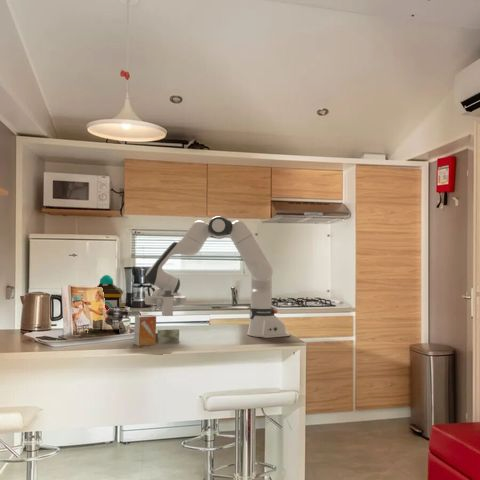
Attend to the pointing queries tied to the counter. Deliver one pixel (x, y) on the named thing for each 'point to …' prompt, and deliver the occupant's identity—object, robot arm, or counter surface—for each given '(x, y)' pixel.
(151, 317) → the small box
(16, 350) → the counter surface
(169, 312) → the connector
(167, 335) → the socket
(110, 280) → the decorative lantern
